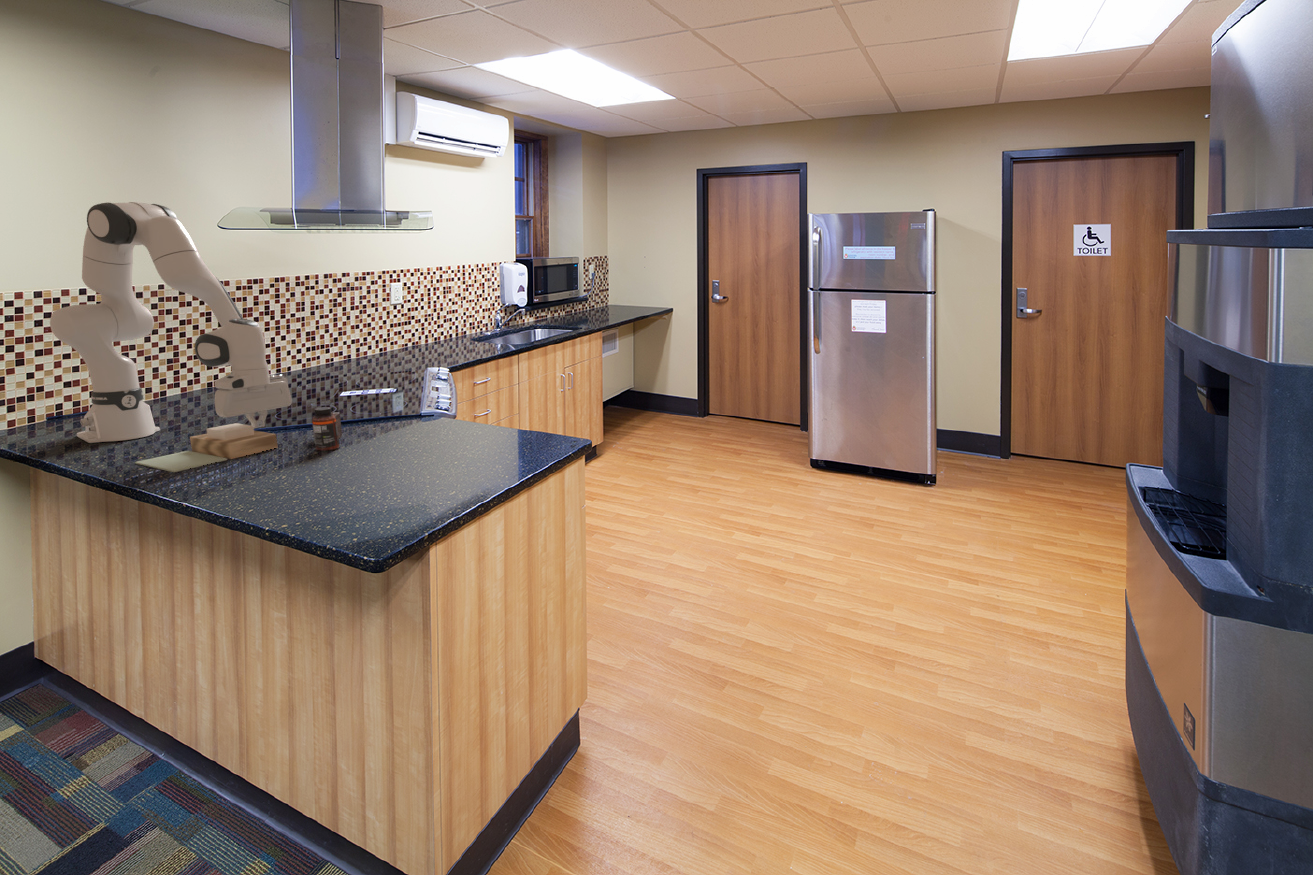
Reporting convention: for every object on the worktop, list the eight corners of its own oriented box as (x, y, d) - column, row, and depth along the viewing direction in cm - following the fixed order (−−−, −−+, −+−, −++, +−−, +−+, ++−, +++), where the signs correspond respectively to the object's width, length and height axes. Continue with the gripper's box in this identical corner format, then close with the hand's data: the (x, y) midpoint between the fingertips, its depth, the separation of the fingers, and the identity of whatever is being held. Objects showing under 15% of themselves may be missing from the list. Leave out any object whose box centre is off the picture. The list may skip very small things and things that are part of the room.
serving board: (192, 451, 194) (189, 437, 193) (239, 441, 205) (237, 427, 204) (231, 459, 186) (228, 444, 185) (277, 448, 197) (275, 434, 196)
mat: (135, 463, 182) (135, 461, 182) (188, 452, 194) (188, 450, 193) (174, 472, 174) (173, 470, 174) (227, 459, 185) (227, 458, 185)
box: (315, 442, 204) (312, 416, 202) (320, 437, 210) (317, 412, 208) (338, 440, 205) (335, 415, 203) (342, 436, 211) (340, 411, 209)
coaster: (207, 437, 193) (206, 428, 192) (237, 431, 200) (235, 423, 199) (225, 440, 189) (223, 431, 188) (254, 434, 196) (253, 425, 195)
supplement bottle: (332, 445, 200) (328, 405, 197) (343, 448, 196) (339, 407, 194) (311, 449, 195) (306, 408, 193) (322, 452, 192) (317, 411, 189)
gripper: (279, 373, 208) (285, 419, 211) (208, 382, 191) (215, 433, 194) (293, 374, 205) (299, 421, 208) (221, 384, 188) (229, 435, 191)
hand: (258, 427), depth 201 cm, fingers closed
